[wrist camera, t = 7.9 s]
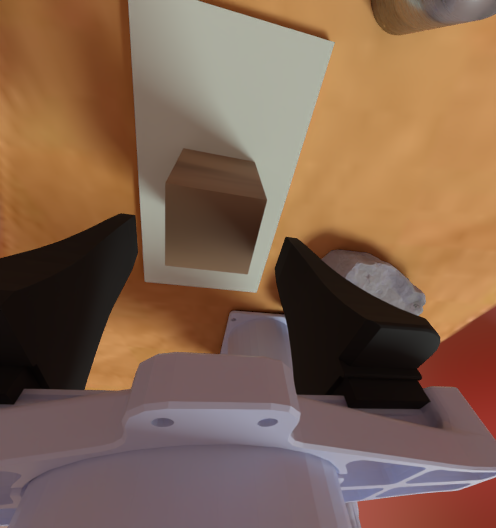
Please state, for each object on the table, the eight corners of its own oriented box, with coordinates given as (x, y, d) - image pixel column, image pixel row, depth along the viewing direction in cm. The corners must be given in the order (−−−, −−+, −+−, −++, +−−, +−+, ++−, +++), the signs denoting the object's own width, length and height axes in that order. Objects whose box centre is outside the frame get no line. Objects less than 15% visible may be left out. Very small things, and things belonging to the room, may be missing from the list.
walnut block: (241, 223, 19) (247, 274, 14) (180, 214, 18) (165, 265, 13) (254, 161, 16) (267, 200, 11) (183, 148, 15) (165, 182, 11)
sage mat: (255, 288, 24) (256, 292, 23) (146, 278, 22) (144, 281, 22) (331, 42, 13) (334, 42, 13) (130, -19, 11) (126, -22, 11)
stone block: (326, 227, 22) (273, 311, 26) (357, 250, 18) (289, 346, 22) (409, 268, 27) (354, 334, 30) (448, 293, 23) (380, 367, 26)
